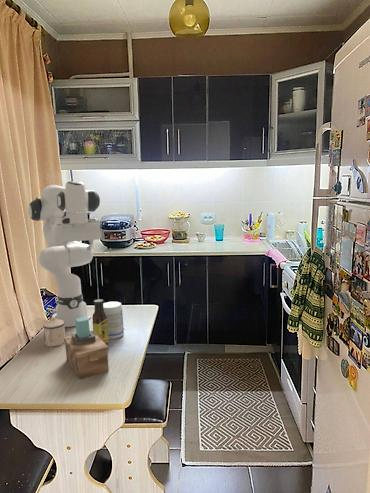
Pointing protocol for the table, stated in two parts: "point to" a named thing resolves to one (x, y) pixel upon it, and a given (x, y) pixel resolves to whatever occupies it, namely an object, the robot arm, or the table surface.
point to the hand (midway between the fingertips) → (78, 251)
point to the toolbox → (86, 354)
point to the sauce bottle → (100, 321)
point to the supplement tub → (114, 319)
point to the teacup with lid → (54, 332)
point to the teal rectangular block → (82, 327)
